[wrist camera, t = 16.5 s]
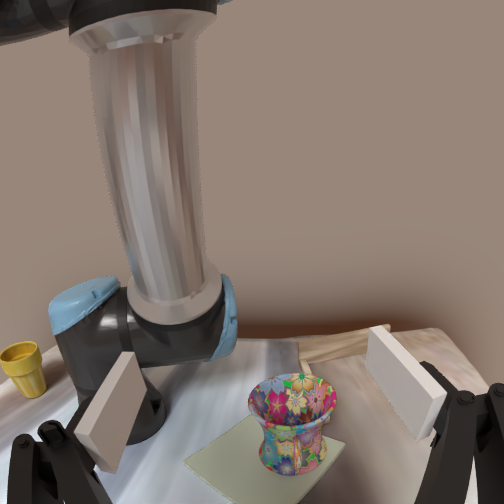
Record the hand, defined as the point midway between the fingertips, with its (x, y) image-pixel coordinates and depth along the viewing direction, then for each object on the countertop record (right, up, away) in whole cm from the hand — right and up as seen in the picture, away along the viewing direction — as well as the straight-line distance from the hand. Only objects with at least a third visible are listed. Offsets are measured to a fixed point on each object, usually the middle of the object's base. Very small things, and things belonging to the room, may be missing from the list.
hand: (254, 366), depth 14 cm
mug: (+5, -20, +13) cm, 24 cm away
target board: (+2, -21, +14) cm, 25 cm away
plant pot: (-46, -23, +26) cm, 58 cm away
